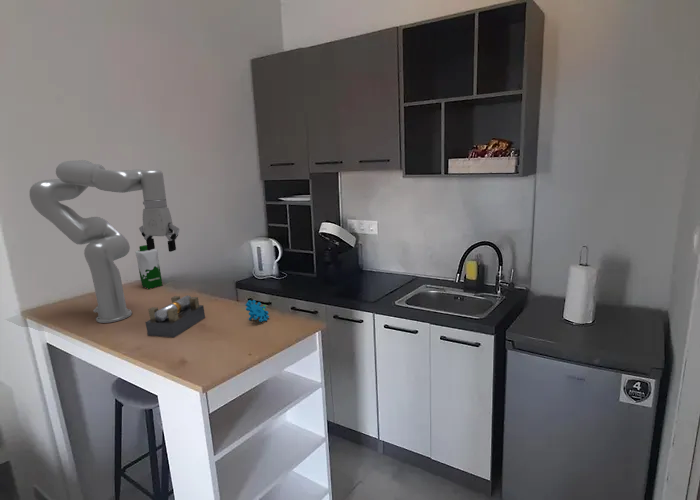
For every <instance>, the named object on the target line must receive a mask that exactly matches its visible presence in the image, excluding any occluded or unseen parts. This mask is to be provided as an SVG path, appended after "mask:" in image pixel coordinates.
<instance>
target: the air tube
mask: <svg viewBox="0 0 700 500" xmlns="http://www.w3.org/2000/svg"><path fill="white" fill-rule="evenodd" d="M191 297H192V296H190V295H185V296H182V297H180V299H179V300H177V301H175V302H173V303H172V302H171V303H169V304H168V305H166V306H164V307H162V308H160V309H158V311H156V312H155V318H156V320H157V321H159V322H162V321H164V320H165V319H167V318H168V312H167V310H169V309H171V308H174V309H177V312H180V311H181V310H183V309H185V308H187V307H188V306H190V301H189V298H191Z"/></svg>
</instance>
